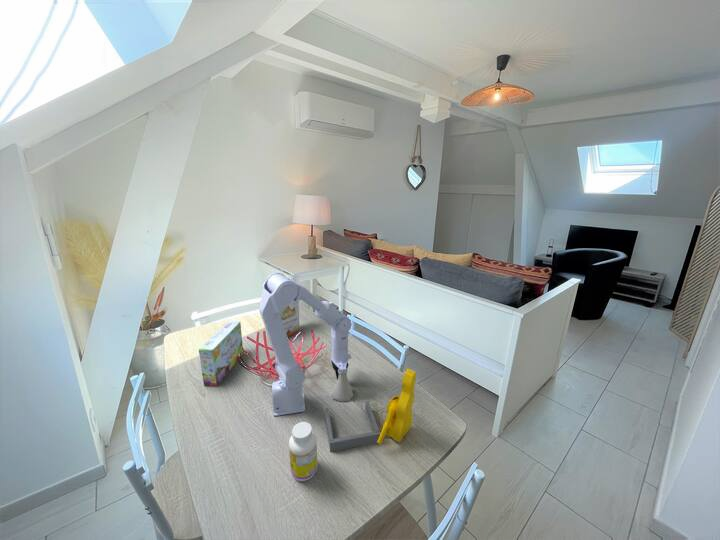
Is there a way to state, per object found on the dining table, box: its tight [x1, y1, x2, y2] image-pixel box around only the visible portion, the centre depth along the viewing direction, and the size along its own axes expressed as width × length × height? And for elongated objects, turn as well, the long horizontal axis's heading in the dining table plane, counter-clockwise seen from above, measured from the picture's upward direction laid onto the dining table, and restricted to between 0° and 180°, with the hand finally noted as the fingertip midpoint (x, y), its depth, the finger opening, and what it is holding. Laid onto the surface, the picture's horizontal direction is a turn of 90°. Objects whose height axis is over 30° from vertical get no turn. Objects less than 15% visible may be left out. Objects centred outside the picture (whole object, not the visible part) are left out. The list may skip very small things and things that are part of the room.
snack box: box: [198, 320, 244, 387], centre depth 108 cm, size 21×6×15 cm, turn 178°
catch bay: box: [324, 400, 381, 452], centre depth 83 cm, size 14×12×3 cm
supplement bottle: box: [288, 421, 318, 482], centre depth 69 cm, size 7×7×13 cm
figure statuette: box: [377, 368, 417, 445], centre depth 79 cm, size 18×8×22 cm, turn 147°
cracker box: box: [280, 300, 300, 338], centre depth 131 cm, size 14×6×21 cm, turn 142°
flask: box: [332, 368, 354, 403], centre depth 95 cm, size 7×7×10 cm
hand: (339, 378), depth 102 cm, fingers closed
